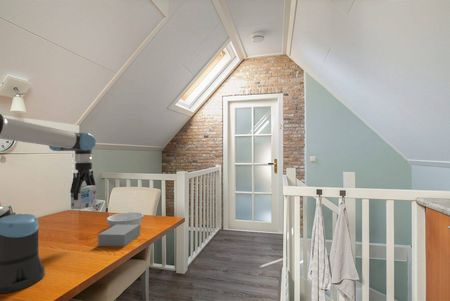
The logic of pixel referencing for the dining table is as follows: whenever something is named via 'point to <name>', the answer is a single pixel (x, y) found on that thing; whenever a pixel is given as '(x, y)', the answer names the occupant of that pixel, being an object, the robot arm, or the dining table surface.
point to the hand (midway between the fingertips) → (84, 203)
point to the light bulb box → (85, 197)
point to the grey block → (118, 235)
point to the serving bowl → (125, 219)
